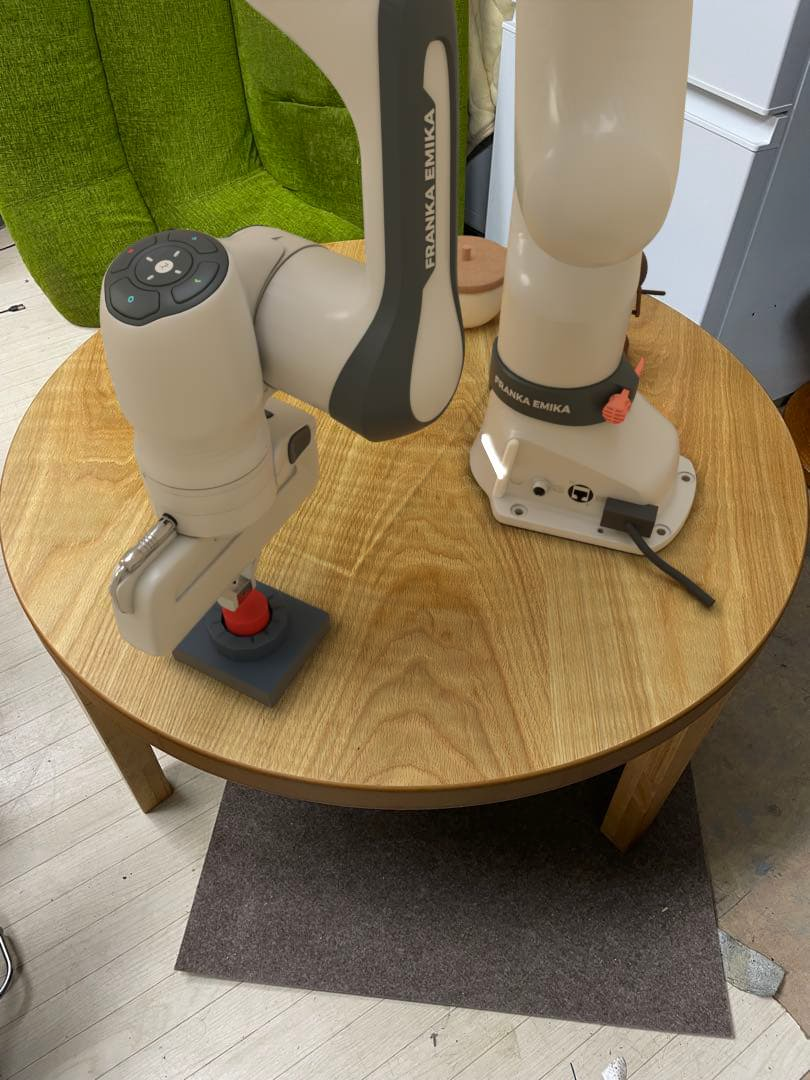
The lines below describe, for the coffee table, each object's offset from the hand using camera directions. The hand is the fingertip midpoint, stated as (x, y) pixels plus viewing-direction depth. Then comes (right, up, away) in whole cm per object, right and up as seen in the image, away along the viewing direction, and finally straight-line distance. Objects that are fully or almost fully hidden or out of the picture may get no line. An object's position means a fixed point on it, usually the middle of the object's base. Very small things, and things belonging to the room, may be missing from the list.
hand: (237, 596), depth 69 cm
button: (+1, -2, +2) cm, 3 cm away
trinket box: (+20, +31, +36) cm, 52 cm away
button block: (+1, -4, +5) cm, 6 cm away
